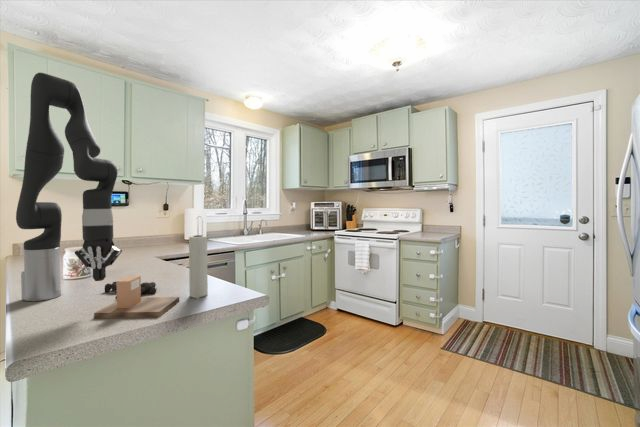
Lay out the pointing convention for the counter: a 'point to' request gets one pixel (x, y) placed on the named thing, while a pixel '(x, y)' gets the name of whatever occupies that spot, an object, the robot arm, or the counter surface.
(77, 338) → the counter surface
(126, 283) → the labeled cardboard box
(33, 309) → the counter surface
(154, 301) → the board
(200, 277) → the paper towel roll
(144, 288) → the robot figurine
